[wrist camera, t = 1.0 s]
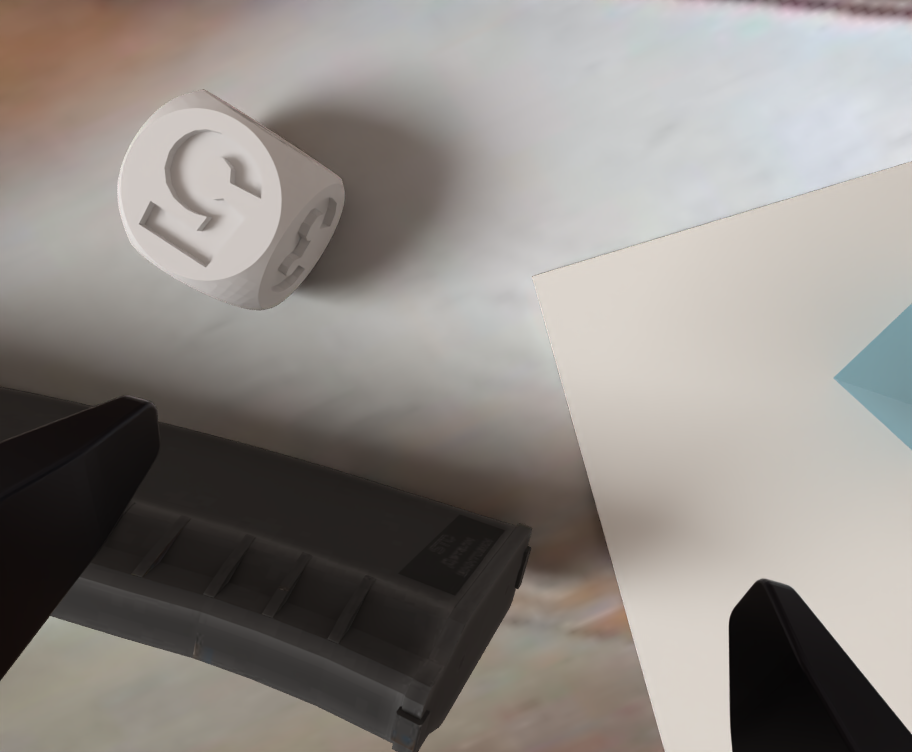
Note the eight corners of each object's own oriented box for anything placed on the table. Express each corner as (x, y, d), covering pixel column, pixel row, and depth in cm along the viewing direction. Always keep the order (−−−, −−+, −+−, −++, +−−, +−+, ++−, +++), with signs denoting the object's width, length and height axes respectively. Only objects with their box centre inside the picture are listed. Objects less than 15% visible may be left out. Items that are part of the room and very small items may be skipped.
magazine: (649, 686, 14) (-1626, 564, 7) (611, 799, 15) (-1512, 796, 8) (477, 441, 31) (-262, 325, 23) (463, 500, 31) (-262, 406, 24)
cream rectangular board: (1074, 724, 23) (1088, 735, 22) (677, 796, 25) (681, 809, 24) (978, 140, 20) (992, 137, 19) (531, 276, 22) (532, 276, 21)
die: (178, 232, 23) (87, 223, 18) (242, 111, 22) (165, 66, 17) (292, 307, 23) (233, 318, 18) (360, 190, 22) (318, 167, 17)
